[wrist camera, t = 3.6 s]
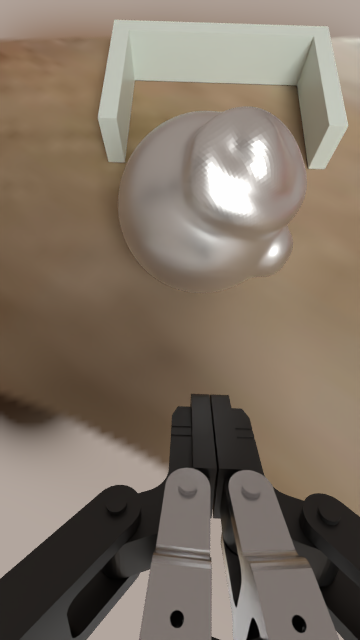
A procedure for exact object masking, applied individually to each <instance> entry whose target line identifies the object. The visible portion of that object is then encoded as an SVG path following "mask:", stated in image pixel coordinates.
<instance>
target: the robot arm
mask: <svg viewBox="0 0 360 640" xmlns="http://www.w3.org/2000/svg"><path fill="white" fill-rule="evenodd" d="M212 508H213V518H220V519H221V524H222V535H221V548H222V554H223V560H224V566H225V572H226V578H227V584H228V590H229V596H230V603H231V609H232V618H233V640H339V638H338V635H337V633H336V631H337V632H338V633H339V634H340V635H341V637H342V638H343V639H344V640H360V517H359V516H358V515H357V514H355V513H354V512H353V511H351V510H350V509H349V508H348V507H346V506H345V505H344V504H343V503H341V502H340V501H339V500H337V499H335V498H334V497H331V496H329V495H326V494H320V493H317V494H312V495H310V496H308V497H307V498H306V499H305V501H302V500H300V499H297V498H294V497H291V496H288V495H285V494H283V493H281V492H279V491H278V490H276V489H275V488H274V487H273V486H272V485H271V483H270V482H269V480H268V479H267V478H266V477H265V476H264V473H263V470H262V466H261V462H260V458H259V454H258V450H257V446H256V442H255V440H254V434H253V431H252V427H251V423H250V419H249V417H248V416H247V415H246V413H245V412H244V411H243V410H242V409H236V408H231V405H230V399H229V396H228V395H210V397H209V395H207V394H191V404H190V407H180V406H178V407H177V409H176V410H175V412H174V413H173V415H172V427H171V444H170V461H169V472H168V475H167V477H166V479H165V480H164V481H163V482H162V484H160V485H159V486H158V487H156V488H154V489H152V490H149V491H145V492H141V493H137V492H136V491H135V490H134V489H132V488H131V487H128V486H125V485H115V486H111V487H109V488H107V489H105V490H104V491H102V492H101V493H100V494H99V495H98V496H96V497H95V498H94V499H93V500H92V501H91V502H89V503H88V504H87V505H86V506H85V507H84V508H82V509H81V510H80V511H79V512H78V513H77V514H75V515H74V516H73V517H72V518H71V519H69V520H68V521H67V522H66V523H65V524H64V525H63V526H61V527H60V528H59V529H58V530H57V531H55V532H54V533H53V534H52V535H51V536H50V537H48V539H46V540H45V541H44V542H43V543H41V544H40V545H39V546H38V547H37V548H36V549H34V550H33V551H32V552H31V553H30V554H29V555H27V556H26V557H25V558H24V559H23V560H22V561H20V562H19V563H18V564H17V565H16V566H15V567H14V568H12V569H11V570H10V571H9V572H8V573H6V574H5V575H4V576H3V577H2V578H1V579H0V640H86V639H87V638H88V637H89V636H90V635H91V633H92V632H93V631H94V630H95V628H96V627H97V626H98V625H99V624H100V622H101V621H102V620H103V619H104V618H105V616H106V615H107V614H108V613H109V611H110V610H111V609H112V608H113V607H114V605H115V604H116V603H117V602H118V600H119V599H120V598H121V597H122V596H123V595H124V593H125V592H126V591H127V590H128V588H129V587H130V586H131V585H132V584H133V582H134V581H135V580H136V579H137V577H138V576H139V574H140V572H143V571H146V570H149V569H150V574H149V580H148V587H147V593H146V599H145V606H144V612H143V619H142V625H141V631H140V638H139V640H219V639H216V638H214V637H211V595H212V594H211V593H212V592H211V591H212V589H211V585H212V582H211V580H212V579H211V578H212V570H211V569H212V566H211V557H210V518H211V516H212Z"/></svg>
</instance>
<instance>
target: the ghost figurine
mask: <svg viewBox="0 0 360 640" xmlns="http://www.w3.org/2000/svg"><path fill="white" fill-rule="evenodd" d="M306 187H307V176H306V169H305V165H304V161H303V158H302V154H301V152H300V149H299V147H298V144H297V142H296V140H295V138H294V137H293V135H292V134H291V132H290V131H289V130H288V128H287V127H286V126H285V125H284V124H283V123H282V122H281V121H280V120H279V119H278V118H277V117H276V116H274V115H272V114H271V113H269V112H267V111H265V110H263V109H260V108H256V107H237V108H233V109H229V110H226V111H224V112H216V111H197V112H190V113H186V114H182V115H179V116H176V117H174V118H172V119H169V120H167V121H166V122H164V123H162V124H161V125H159V126H158V127H156V128H155V129H154V130H152V131H151V132H150V133H149V134H148V135H147V136H146V137H145V138H144V139H143V140H142V141H141V142H140V143H139V145H138V146H137V147H136V149H135V150H134V152H133V153H132V155H131V157H130V158H129V160H128V162H127V164H126V167H125V169H124V172H123V175H122V178H121V182H120V187H119V194H118V214H119V221H120V226H121V230H122V233H123V236H124V239H125V241H126V243H127V246H128V248H129V249H130V251H131V253H132V254H133V256H134V257H135V259H136V260H137V261H138V263H139V264H140V265H141V266H142V267H143V268H144V269H145V270H146V271H147V272H148V273H149V274H150V275H152V276H153V277H154V278H156V279H157V280H159V281H160V282H162V283H164V284H166V285H168V286H170V287H173V288H175V289H178V290H182V291H186V292H193V293H211V292H218V291H222V290H226V289H229V288H231V287H234V286H236V285H238V284H240V283H242V282H244V281H246V280H248V279H250V278H253V277H266V276H271V275H273V274H275V273H277V272H278V271H279V270H280V269H281V268H282V267H283V266H284V264H285V263H286V261H287V260H288V258H289V256H290V254H291V252H292V248H293V239H292V235H291V233H290V231H289V229H288V226H287V224H288V223H289V222H290V221H291V220H292V219H293V218H294V217H295V215H296V214H297V212H298V210H299V209H300V207H301V205H302V202H303V200H304V197H305V194H306Z"/></svg>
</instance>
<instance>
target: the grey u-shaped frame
mask: <svg viewBox="0 0 360 640" xmlns="http://www.w3.org/2000/svg"><path fill="white" fill-rule="evenodd" d="M135 80H146V81H177V82H208V83H239V84H270V85H297V88H298V95H299V103H300V110H301V118H302V125H303V132H304V140H305V147H306V155H307V162H308V169H325V168H326V166H327V164H328V162H329V160H330V158H331V157H332V155H333V153H334V151H335V149H336V148H337V146H338V144H339V142H340V140H341V138H342V137H343V135H344V133H345V131H346V129H347V127H348V122H347V117H346V112H345V107H344V102H343V97H342V92H341V87H340V82H339V77H338V73H337V68H336V63H335V58H334V53H333V48H332V43H331V38H330V33H329V28H328V27H325V26H294V25H262V24H261V25H260V24H229V23H198V22H167V21H136V20H114V26H113V32H112V37H111V43H110V49H109V55H108V60H107V66H106V72H105V78H104V84H103V90H102V96H101V101H100V107H99V113H98V121H99V125H100V129H101V133H102V137H103V141H104V145H105V149H106V153H107V157H108V161H109V162H125V157H126V149H127V141H128V132H129V124H130V116H131V108H132V100H133V91H134V83H135Z"/></svg>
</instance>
